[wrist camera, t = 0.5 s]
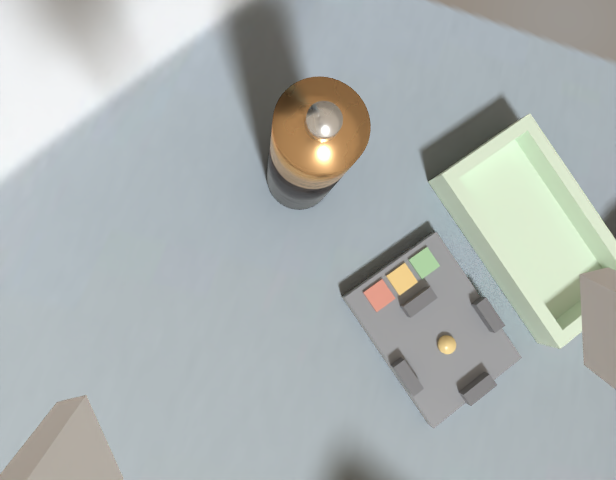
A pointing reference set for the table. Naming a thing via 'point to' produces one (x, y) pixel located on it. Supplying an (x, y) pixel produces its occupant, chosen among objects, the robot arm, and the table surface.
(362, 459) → the table surface
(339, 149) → the cell
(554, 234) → the trough
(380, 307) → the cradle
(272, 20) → the table surface
